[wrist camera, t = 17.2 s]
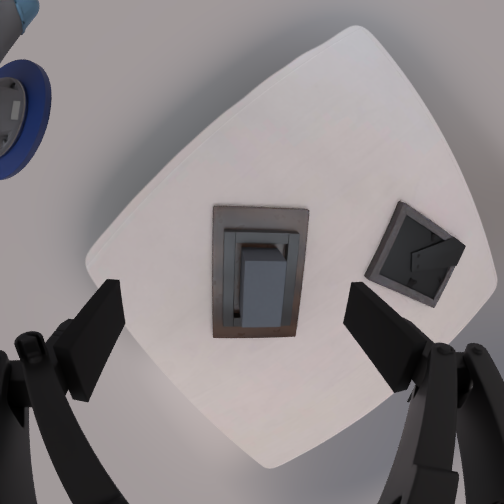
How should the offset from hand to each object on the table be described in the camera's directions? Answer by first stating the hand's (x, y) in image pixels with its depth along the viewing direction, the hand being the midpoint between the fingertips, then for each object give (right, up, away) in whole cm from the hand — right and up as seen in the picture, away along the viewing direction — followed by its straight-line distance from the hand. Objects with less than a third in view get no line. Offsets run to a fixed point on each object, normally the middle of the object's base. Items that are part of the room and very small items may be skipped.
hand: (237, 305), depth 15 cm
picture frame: (+30, +2, +29) cm, 41 cm away
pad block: (+2, -1, +26) cm, 26 cm away
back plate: (+2, -1, +27) cm, 27 cm away
